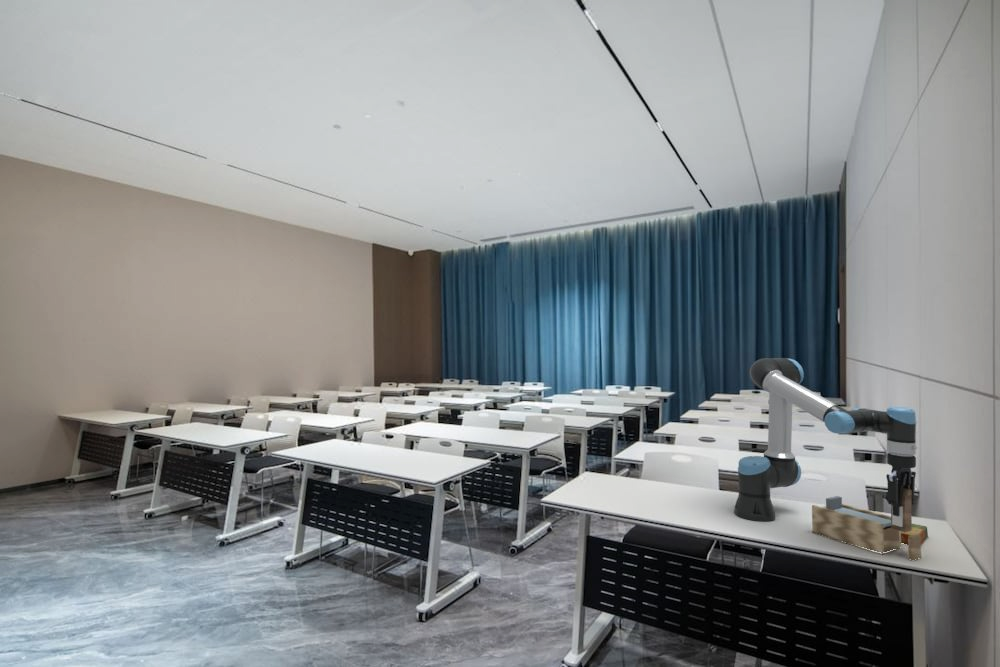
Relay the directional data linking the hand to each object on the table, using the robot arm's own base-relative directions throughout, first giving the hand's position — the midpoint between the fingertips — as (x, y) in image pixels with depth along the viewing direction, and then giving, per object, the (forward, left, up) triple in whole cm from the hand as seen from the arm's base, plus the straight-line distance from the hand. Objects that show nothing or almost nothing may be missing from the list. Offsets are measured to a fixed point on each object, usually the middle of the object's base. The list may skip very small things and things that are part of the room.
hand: (901, 524), depth 167 cm
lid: (-14, 0, -2) cm, 14 cm away
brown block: (0, 0, -2) cm, 2 cm away
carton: (-6, +19, -11) cm, 23 cm away
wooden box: (-11, 0, -10) cm, 15 cm away
